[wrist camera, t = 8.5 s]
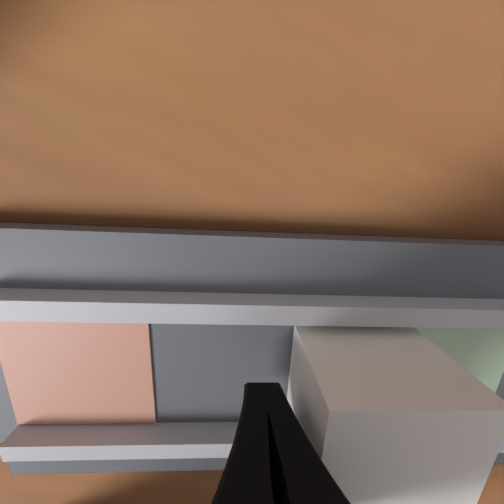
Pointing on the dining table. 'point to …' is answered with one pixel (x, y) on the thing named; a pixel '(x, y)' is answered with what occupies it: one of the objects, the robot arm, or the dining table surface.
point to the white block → (393, 415)
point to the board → (205, 330)
